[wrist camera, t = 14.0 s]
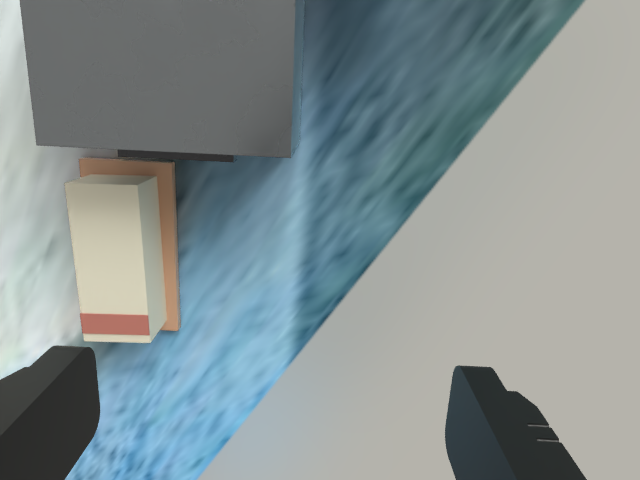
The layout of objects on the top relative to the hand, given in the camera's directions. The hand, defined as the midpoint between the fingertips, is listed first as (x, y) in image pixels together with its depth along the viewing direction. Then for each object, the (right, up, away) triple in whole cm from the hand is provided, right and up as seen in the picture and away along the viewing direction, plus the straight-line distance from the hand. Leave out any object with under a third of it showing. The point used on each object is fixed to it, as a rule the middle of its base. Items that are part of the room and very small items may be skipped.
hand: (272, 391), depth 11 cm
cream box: (-14, +3, +28) cm, 31 cm away
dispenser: (-7, +17, +24) cm, 31 cm away
